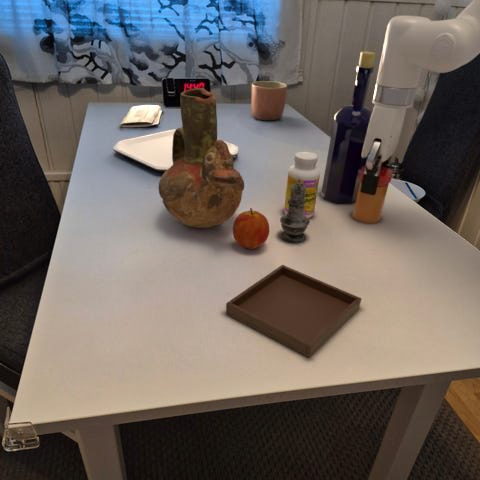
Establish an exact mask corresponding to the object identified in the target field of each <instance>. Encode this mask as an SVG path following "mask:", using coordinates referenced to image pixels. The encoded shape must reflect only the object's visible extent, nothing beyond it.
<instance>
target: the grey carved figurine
mask: <svg viewBox="0 0 480 480" xmlns="http://www.w3.org/2000/svg"><path fill="white" fill-rule="evenodd" d="M305 193H306V186H305V185H304V184H302V183H301V179H299V180H298V182H297V183H295V184H293V185H292V187H291V195H290V199H289V200H288V204H289V209H288V213H287V215H286V214H284V215H282V216H281V217H280V218H279V222H280V225H281V228H282V230H283V231H281V232H280V233H279V238H280V240H282V241H284V242H286V243H289V244H299V243H303V242H305V240H306V239H307V236H306V234H305V233H304V232H306V230H307V229H308V226H309V225H310V222H311V221H310V218H307V217H305V216H304V213H303V211H304V205H306V201H305Z"/></svg>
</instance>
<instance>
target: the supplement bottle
mask: <svg viewBox="0 0 480 480" xmlns="http://www.w3.org/2000/svg"><path fill="white" fill-rule="evenodd" d="M318 159H319V156H318V154H316V153H314V152H312V151H311V152H310V151H298V152H296V153H295V154H294V159H293V160H294V164H293V165H291V166H290V167H289V168H288V172H287V179H286V190H285V195H284V206H283V212H284V215H287V213H288V209H289V204H288V200H289V199H290V195H291V187H292V185H293V184H295V183H297V182H298V180H299V179H301V183H302V184H304V185H305V186H306V193H305V201H306V205H304V211H303V213H304V216H305V217H307V218H308V219H310V218H312V217H313V215H314V214H315V209H316V208H315V207H316V202H317V195H318V189H319V182H320V176H321V171H320V169H319V168H318V166H316V165H317V163H318Z"/></svg>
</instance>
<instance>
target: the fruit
mask: <svg viewBox="0 0 480 480" xmlns="http://www.w3.org/2000/svg"><path fill="white" fill-rule="evenodd" d="M232 235H233V238H234V240H235V242H236V243H237V244H238V245H240V246H241V247H243V248H244V249H249V250H252V249H256V248H259V247H261V246H262V245H264V243H266V241H267V240H268V238H269V235H270V223H269V221H268V219H267V217H266V216H265V215H264V214H262V213H261V212H260V211H257V210H253V208H252V207H250V208H249V210H245V211H243V212H241V213H239V214H238V215H236V217H235V219H234V221H233V224H232Z"/></svg>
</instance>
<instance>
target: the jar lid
mask: <svg viewBox="0 0 480 480" xmlns="http://www.w3.org/2000/svg"><path fill="white" fill-rule="evenodd" d="M365 167H366V166H363V167H362V168H361V171H360V176H359V178H360V180H363V175H364V171H365ZM376 167H377V165H376ZM376 169H377V168H376ZM378 176H380V178H379V182H378V185H386V184H388V183H389V184H391V182H392V177H393V170H391V168H389V169H388V168H386V167H382V166H381V169H380V172H379V175H378Z"/></svg>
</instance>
